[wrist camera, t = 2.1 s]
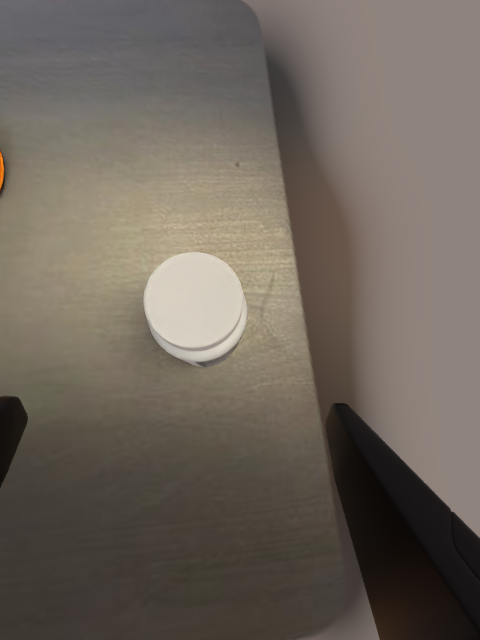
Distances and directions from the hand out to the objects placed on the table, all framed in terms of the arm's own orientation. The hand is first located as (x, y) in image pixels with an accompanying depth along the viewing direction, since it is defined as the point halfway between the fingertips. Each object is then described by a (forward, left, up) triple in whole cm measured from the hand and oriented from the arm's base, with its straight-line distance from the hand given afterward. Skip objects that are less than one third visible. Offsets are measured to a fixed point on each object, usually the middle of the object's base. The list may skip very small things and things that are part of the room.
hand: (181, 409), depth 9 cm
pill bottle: (+4, -1, -11) cm, 12 cm away
